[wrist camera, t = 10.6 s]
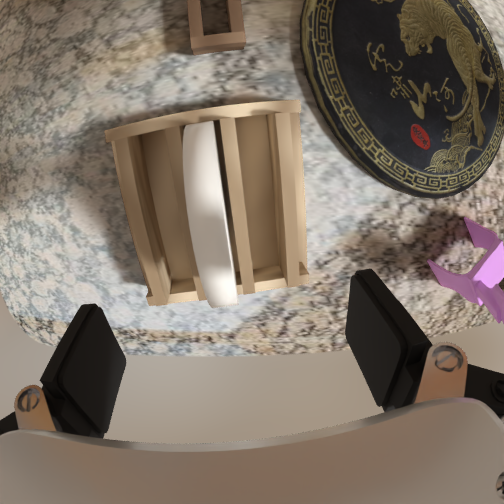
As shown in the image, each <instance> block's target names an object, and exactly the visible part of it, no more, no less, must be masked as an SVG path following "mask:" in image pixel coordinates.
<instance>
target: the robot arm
mask: <svg viewBox="0 0 504 504" xmlns="http://www.w3.org/2000/svg"><path fill="white" fill-rule="evenodd" d="M345 335H346V339H347V341H348V343H349V346H350V348H351V350H352V352H353V354H354V356H355V358H356V360H357V362H358V365H359V367H360V369H361V371H362V373H363V375H364V377H365V379H366V382H367V384H368V386H369V388H370V391H371V393H372V395H373V397H374V400H375V402H376V404H377V405H378V406H379V407H380V406H382V407H383V410H384V413H381V414H378V415H375V416H371V417H368V418H364V419H360V420H357V421H353V422H349V423H344V424H340V425H336V426H332V427H328V428H323V429H319V430H314V431H309V432H303V433H298V434H292V435H286V436H279V437H273V438H265V439H257V440H247V441H238V442H237V441H236V442H222V443H202V444H201V443H200V444H166V443H142V442H129V441H118V440H109V439H103V437H104V433H107V431H108V429H109V424H110V420H111V416H112V412H113V408H114V405H115V401H116V397H117V394H118V390H119V387H120V383H121V380H122V376H123V373H124V370H125V366H126V358H125V355H124V353H123V352H122V350H121V348H120V346H119V344H118V342H117V340H116V338H115V336H114V334H113V332H112V330H111V327H110V325H109V323H108V321H107V319H106V317H105V315H104V312H103V310H102V308H101V307H98V306H97V305H96V304H83V305H81V307H80V308H79V310H78V312H77V313H76V315H75V316H74V318H73V320H72V322H71V323H70V325H69V327H68V328H67V330H66V332H65V334H64V335H63V337H62V339H61V341H60V343H59V344H58V346H57V348H56V350H55V352H54V354H53V356H52V357H51V359H50V361H49V363H48V365H47V367H46V369H45V371H44V373H43V375H42V377H41V379H40V381H41V383H42V384H43V387H42V388H40V387H39V386H37V385H29V386H27V387H25V388H23V389H22V390H21V391H20V392H19V393H18V395H17V396H16V398H15V402H14V408H15V412H13V413H11V414H10V415H8V416H6V417H5V418H3V419H2V420H0V504H504V374H502V373H499V372H495V371H491V370H488V369H484V368H481V367H477V366H474V365H471V364H468V361H467V356H466V354H465V352H464V351H463V350H462V349H461V348H460V347H459V346H457V345H456V344H453V343H450V342H439V343H436V344H434V345H432V343H431V342H430V341H429V339H428V338H427V337H426V335H425V334H424V333H423V331H422V330H421V329H420V327H419V326H418V325H417V323H416V322H415V321H414V319H413V318H412V317H411V315H410V314H409V313H408V312H407V310H406V309H405V308H404V306H403V305H402V304H401V303H400V302H399V301H398V300H397V299H396V297H395V296H394V295H393V294H392V293H391V291H390V290H389V289H388V288H387V286H386V285H385V284H384V283H383V282H382V280H381V279H380V278H379V277H378V275H377V274H376V273H375V272H374V271H373V270H372V269H365V270H359V271H356V273H355V275H353V276H352V277H351V282H350V293H349V303H348V313H347V321H346V329H345Z"/></svg>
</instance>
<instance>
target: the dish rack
mask: <svg viewBox="0 0 504 504" xmlns="http://www.w3.org/2000/svg"><path fill="white" fill-rule="evenodd" d="M299 112H301V106H300V100H283V101H267V102H255V103H244V104H235V105H226V106H219V107H211V108H205V109H198V110H192V111H187V112H181V113H176V114H171V115H166V116H161V117H156V118H152V119H147V120H143V121H139V122H135V123H131V124H127V125H123V126H119V127H116V128H112V129H109V130H105V131H104V132H105V138H106V143H108V142H111V144H112V149H113V155H114V160H115V166H116V171H117V176H118V180H119V185H120V190H121V194H122V199H123V203H124V207H125V211H126V215H127V219H128V223H129V227H130V231H131V234H132V238H133V242H134V245H135V249H136V252H137V256H138V259H139V263H140V266H141V269H142V272H143V276H144V279H145V282H146V285H147V288H148V293H147V296H146V298H147V301H148V304H149V306H153V305H156V306H160V305H167V304H171V303H179V302H187V301H195V300H199V301H201V300H207V298H206V296H205V293H204V290H203V287H202V283H201V280H200V276H199V272H198V268H197V264H196V259H195V254H194V250H193V244H192V239H191V233H190V227H189V221H188V214H187V206H186V198H185V187H184V175H183V135H184V129H185V126H186V125H190V124H196V123H202V122H209V121H213V123H214V128H215V134H216V141H217V148H218V155H219V162H220V169H221V176H222V183H223V190H224V197H225V205H226V212H227V219H228V226H229V233H230V241H231V248H232V255H233V263H234V270H235V277H236V285H237V293H238V295H239V294H251V293H255V292H259V291H265V290H272V289H278V288H284V287H288V288H289V287H295V286H300V285H302V284H308V283H309V273H308V271H307V237H306V209H305V188H304V171H303V156H302V142H301V130H300V118H299Z"/></svg>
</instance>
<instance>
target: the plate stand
mask: <svg viewBox="0 0 504 504" xmlns="http://www.w3.org/2000/svg"><path fill="white" fill-rule="evenodd" d="M187 7H188V18H189V29H190V39H191V49H192V51H193V54H194V55H200V54H206V53H214V52H222V51H231V50H243V49H244V46H245V44H246V38H245V30H244V22H243V14H242V6H241V0H226V8H227V16H228V24H229V33H221V34H212V35H205V36H204V33H203V23H202V14H201V4H200V0H187Z"/></svg>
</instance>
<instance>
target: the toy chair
mask: <svg viewBox="0 0 504 504" xmlns="http://www.w3.org/2000/svg"><path fill="white" fill-rule="evenodd" d="M464 221H465V223H466V226H467V228H468V230H469V233H470V236H471V238H472V241H473V243H474V246H475V247H481V248H486V249H488V251H487V252H486V254H485V255H484V257H483V258H482V259H481V260H480V261H479V262H478V263H477V264H476V265H475V266H474V267H473V269H472V270H471V271H470V272H468V273H467V274H464V275H461V274H455V273H452V272H450V271H447V270H446V269H444V268H442V267H440V266H439V265H437V264H436V263H434V262H433V261H431V260H430V259H428V260H427V262H428V264H429V266H430V267H431V269H432V271H433V272H434V274H435V276H436V278H437V279H438V281H439V283H440V285H441V286H443V287H447V288H450V289H453V290H455V291H456V292H458V293H459V294H461V295H462V296H463V297H465V298H466V299H467V300H468V301H470V302H472V303H477V304H478V305H479V306H481V305H482V304H483V303H484V305H485V306H486V307H487V308H488V310H489V311H490V312H491V314H492V315H493V316H494V318H495V319H496V321H497V322H498V323H500V322H501V321H503V323H504V292H503V291H502V289H501V288H500V287H499V285H498V283H499V282H500V281H501V280H502V279H503V278H504V246H503V242H502V240H500V239H499V238H498V237H497V234H496V233H495V232H494V231H492V230H489V229H487V228H485V227H483V226H481V225H479V224H477V223H476V222H474V221H472V220H470V219H469V218H467V217H464Z"/></svg>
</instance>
